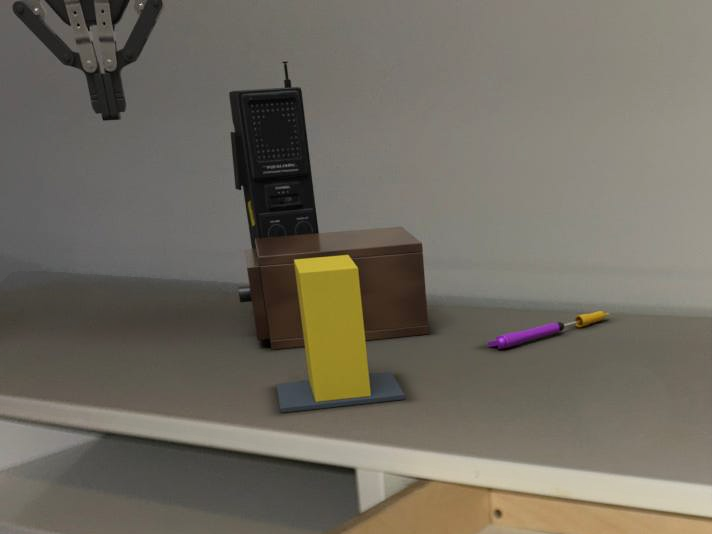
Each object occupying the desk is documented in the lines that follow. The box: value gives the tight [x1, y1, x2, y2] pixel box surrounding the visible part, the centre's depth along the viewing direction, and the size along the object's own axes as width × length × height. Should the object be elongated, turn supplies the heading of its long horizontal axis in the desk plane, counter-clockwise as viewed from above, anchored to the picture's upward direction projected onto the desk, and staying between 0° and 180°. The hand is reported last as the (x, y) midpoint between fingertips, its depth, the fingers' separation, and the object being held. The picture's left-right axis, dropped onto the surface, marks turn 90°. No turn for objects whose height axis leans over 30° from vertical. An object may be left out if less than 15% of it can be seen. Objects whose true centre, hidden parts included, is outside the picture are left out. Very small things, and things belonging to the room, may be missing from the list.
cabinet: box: [255, 226, 430, 351], centre depth 110 cm, size 16×14×9 cm
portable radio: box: [228, 61, 320, 249], centre depth 116 cm, size 8×6×25 cm
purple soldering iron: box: [487, 310, 610, 350], centre depth 105 cm, size 3×1×16 cm
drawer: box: [237, 248, 270, 341], centre depth 110 cm, size 16×12×7 cm
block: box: [294, 255, 371, 402], centre depth 87 cm, size 4×7×10 cm, turn 12°
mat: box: [275, 371, 406, 414], centre depth 89 cm, size 10×8×1 cm
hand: (111, 119), depth 96 cm, fingers closed
